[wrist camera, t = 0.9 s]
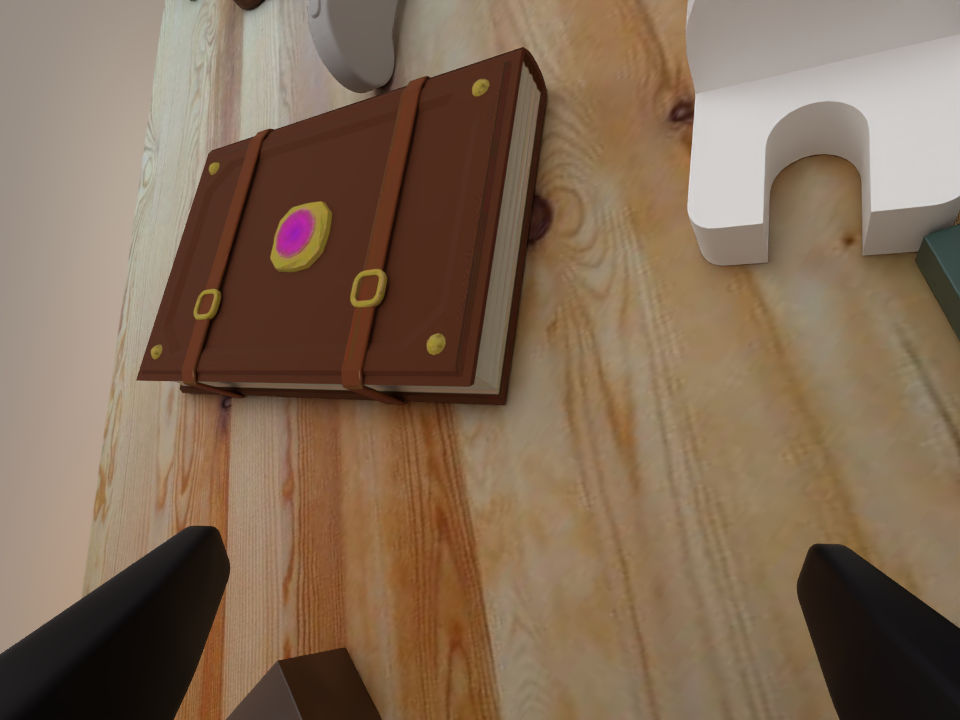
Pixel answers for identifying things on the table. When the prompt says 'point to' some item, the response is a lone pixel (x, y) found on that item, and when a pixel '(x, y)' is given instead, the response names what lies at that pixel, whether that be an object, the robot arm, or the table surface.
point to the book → (362, 248)
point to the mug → (247, 3)
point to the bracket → (823, 114)
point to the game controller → (355, 40)
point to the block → (309, 691)
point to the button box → (943, 270)
